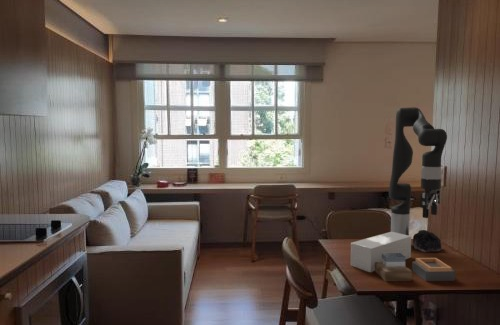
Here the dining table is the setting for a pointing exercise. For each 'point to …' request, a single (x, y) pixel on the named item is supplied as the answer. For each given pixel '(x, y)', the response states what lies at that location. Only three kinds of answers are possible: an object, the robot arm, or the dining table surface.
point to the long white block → (378, 249)
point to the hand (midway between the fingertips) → (429, 216)
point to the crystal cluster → (426, 241)
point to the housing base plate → (393, 265)
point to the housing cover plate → (393, 257)
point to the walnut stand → (393, 273)
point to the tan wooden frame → (433, 269)
